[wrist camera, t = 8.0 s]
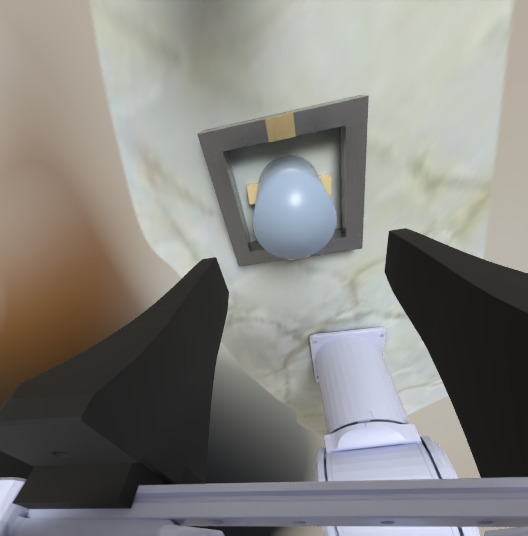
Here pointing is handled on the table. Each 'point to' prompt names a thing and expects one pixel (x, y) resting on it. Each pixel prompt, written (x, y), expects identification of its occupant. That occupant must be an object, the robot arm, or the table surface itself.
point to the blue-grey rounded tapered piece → (292, 208)
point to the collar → (283, 127)
